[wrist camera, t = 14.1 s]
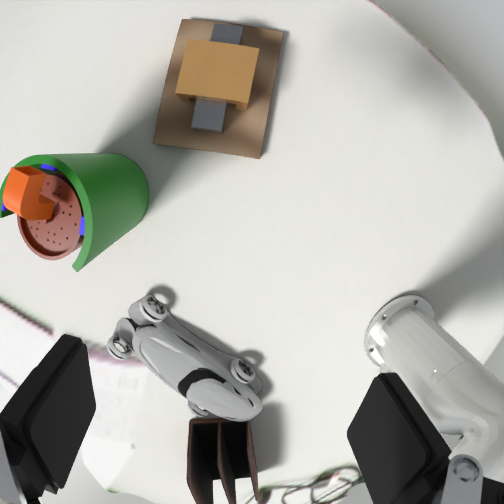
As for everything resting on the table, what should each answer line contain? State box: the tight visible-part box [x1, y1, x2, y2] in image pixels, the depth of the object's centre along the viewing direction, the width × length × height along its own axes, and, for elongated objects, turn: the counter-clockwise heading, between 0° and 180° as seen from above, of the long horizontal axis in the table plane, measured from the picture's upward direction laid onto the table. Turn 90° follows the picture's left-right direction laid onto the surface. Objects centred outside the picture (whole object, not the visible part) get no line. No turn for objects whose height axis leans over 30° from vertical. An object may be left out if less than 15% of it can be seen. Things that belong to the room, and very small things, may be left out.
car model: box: [107, 295, 262, 422], centre depth 39 cm, size 11×24×5 cm, turn 47°
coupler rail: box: [191, 23, 243, 134], centre depth 28 cm, size 12×3×4 cm, turn 170°
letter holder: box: [187, 418, 259, 504], centre depth 41 cm, size 10×20×14 cm, turn 5°
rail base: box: [153, 19, 283, 159], centre depth 30 cm, size 16×12×2 cm
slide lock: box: [175, 39, 259, 111], centre depth 27 cm, size 6×7×4 cm
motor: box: [0, 153, 149, 272], centre depth 24 cm, size 10×9×20 cm
